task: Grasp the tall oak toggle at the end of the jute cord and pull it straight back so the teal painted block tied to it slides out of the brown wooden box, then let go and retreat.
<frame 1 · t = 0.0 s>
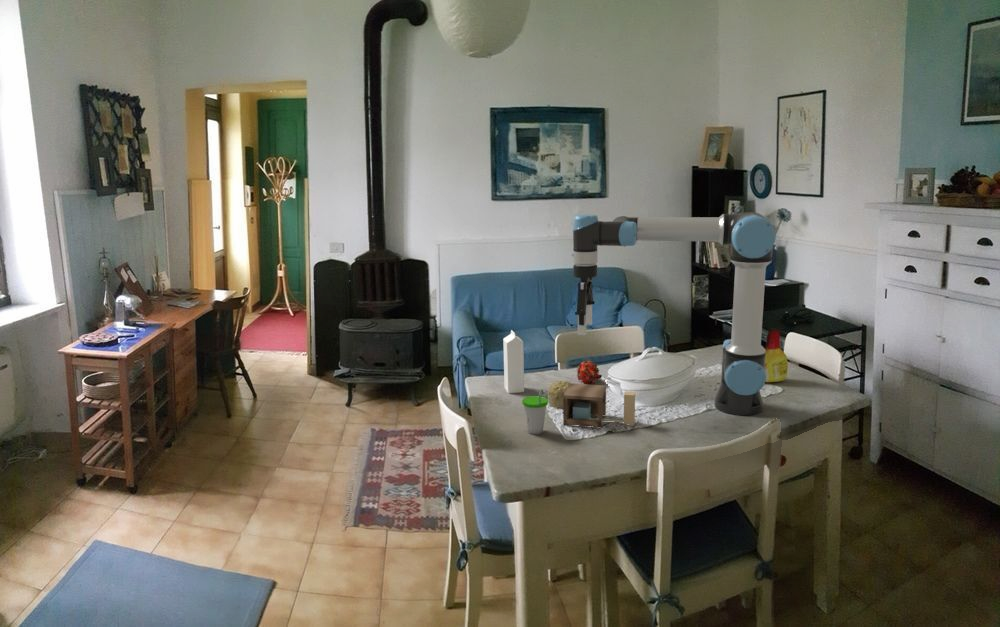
hand: (585, 329, 224), 28 cm above the table, fingers open, 13 cm apart
cup: (535, 432, 215), on the table
decorative item: (561, 404, 238), on the table
brown wooden box: (584, 419, 223), on the table
dragon fruit: (588, 382, 259), on the table
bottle: (770, 382, 255), on the table
milk: (514, 390, 252), on the table
tethered block: (581, 419, 223), on the table
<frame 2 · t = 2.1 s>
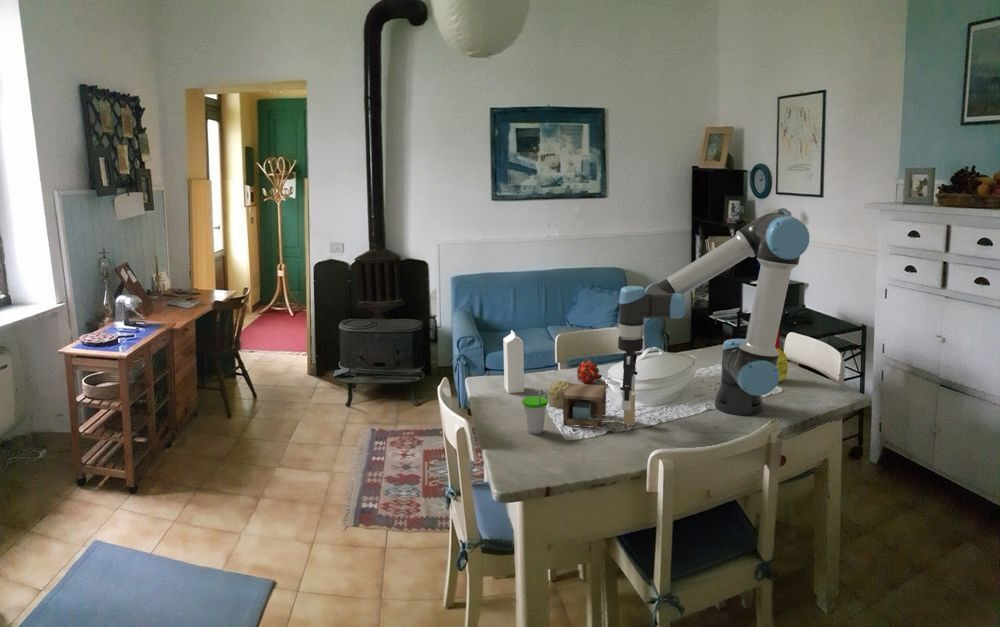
hand: (628, 402, 218), 7 cm above the table, fingers open, 13 cm apart
nothing on the table moved.
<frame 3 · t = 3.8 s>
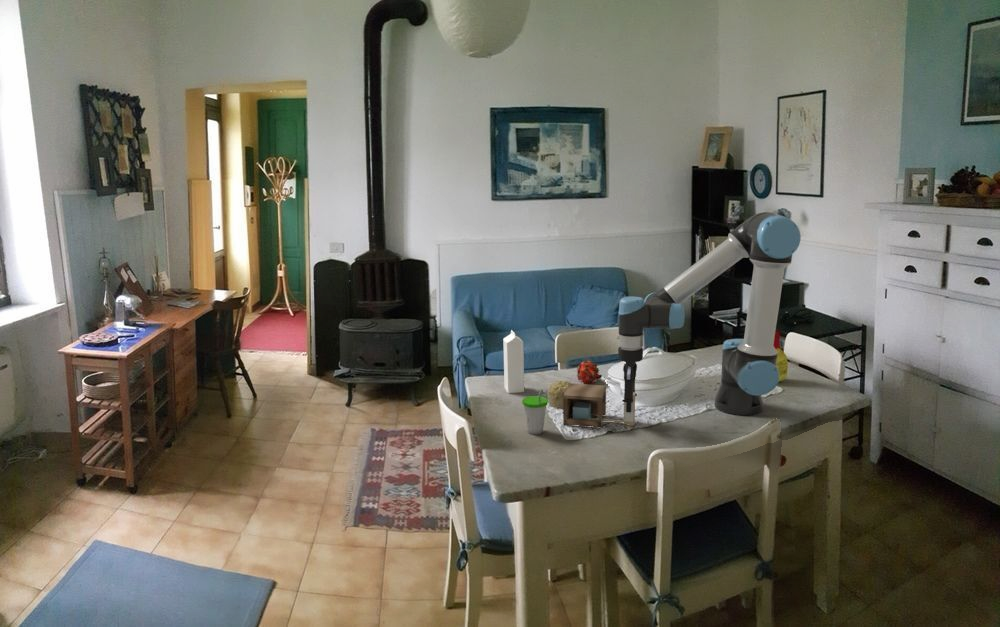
hand: (629, 418, 219), 2 cm above the table, fingers closed on tethered block, 3 cm apart
tethered block: (581, 419, 223), on the table, touching gripper
everything else where it was.
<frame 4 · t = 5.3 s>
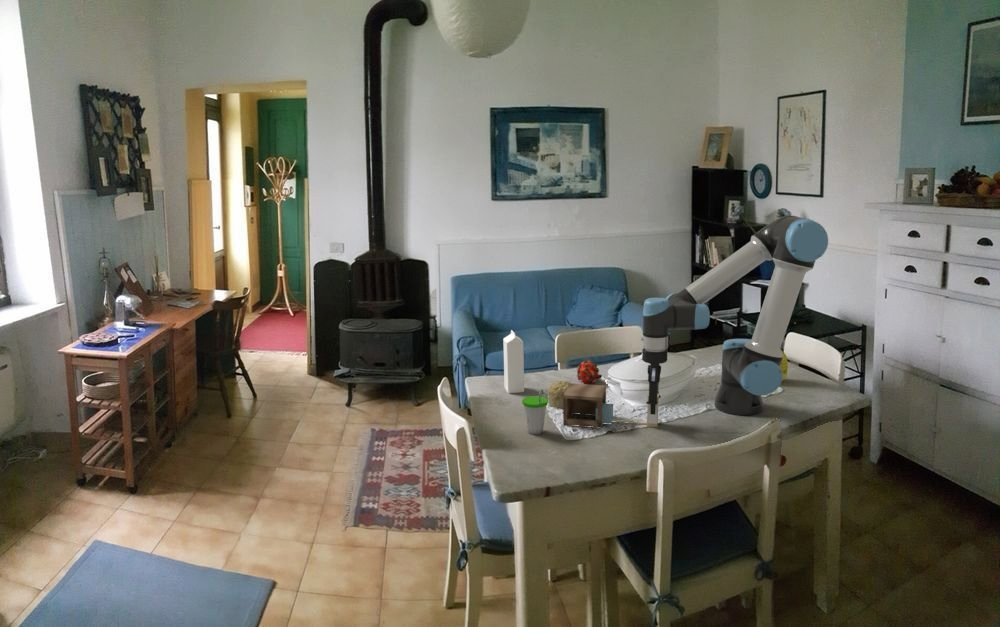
hand: (653, 420, 217), 1 cm above the table, fingers closed on tethered block, 3 cm apart
tethered block: (604, 420, 222), on the table, touching gripper
everything else where it was.
when the fingers open (2 cm above the table, at t = 7.1 s): tethered block stays where it is, on the table.
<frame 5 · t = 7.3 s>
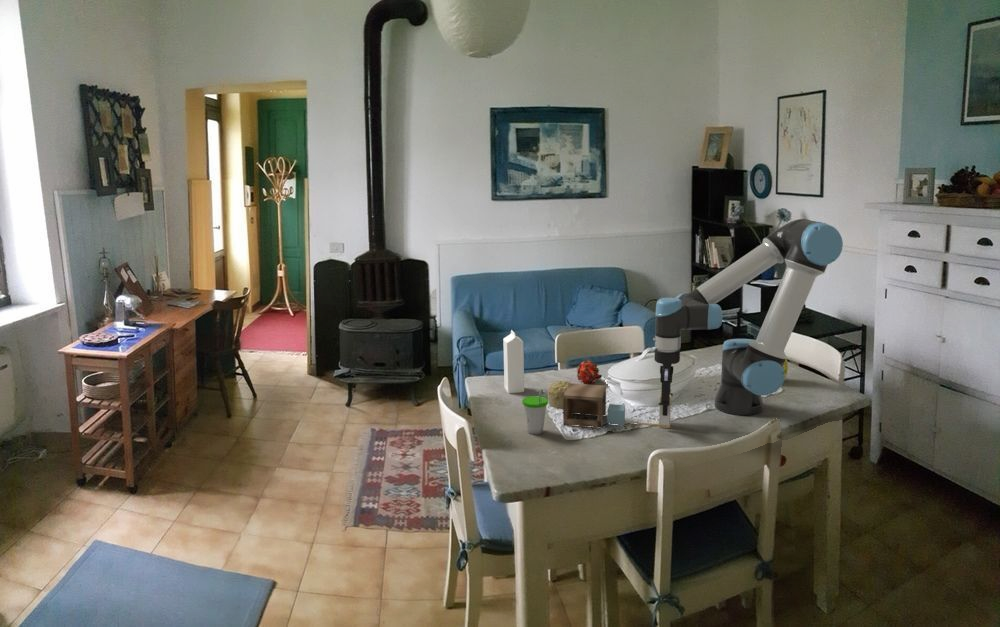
hand: (665, 420, 216), 2 cm above the table, fingers open, 6 cm apart
tethered block: (616, 422, 221), on the table
everything else where it was.
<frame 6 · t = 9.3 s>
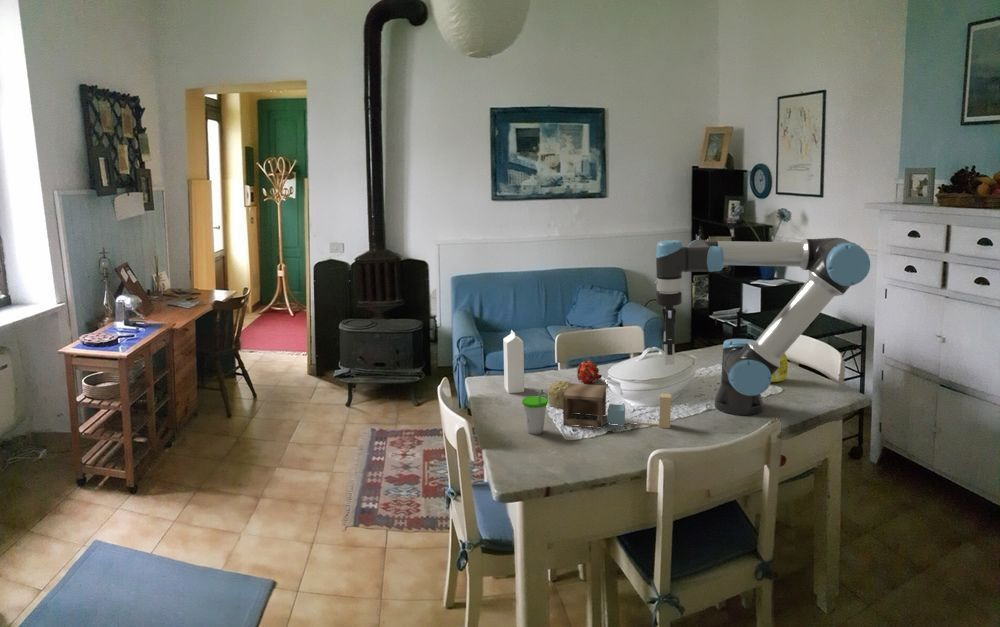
hand: (668, 357, 218), 20 cm above the table, fingers open, 13 cm apart
nothing on the table moved.
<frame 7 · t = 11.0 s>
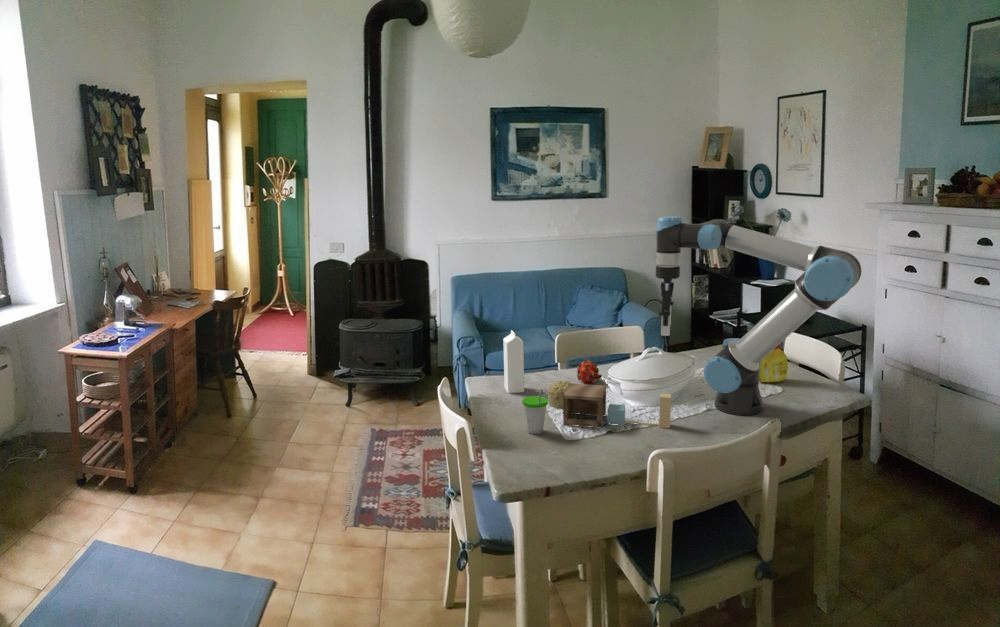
hand: (665, 330, 226), 27 cm above the table, fingers open, 13 cm apart
nothing on the table moved.
at the end: tethered block inside the target area (5.9 cm from its centre), on the table; tethered block moved 10.9 cm from its start; the gripper is holding nothing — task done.
